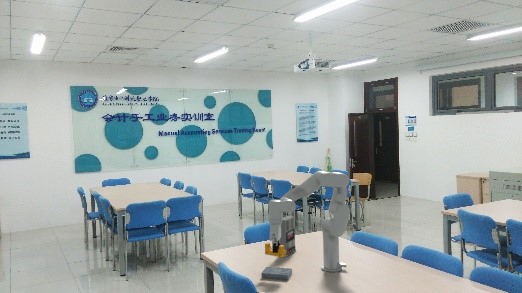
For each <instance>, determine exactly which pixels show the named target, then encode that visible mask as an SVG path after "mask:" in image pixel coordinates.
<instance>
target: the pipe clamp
mask: <svg viewBox="0 0 522 293" xmlns="http://www.w3.org/2000/svg"><path fill="white" fill-rule="evenodd" d="M264 255H267V256H272V257H277V258H284V257H286V250H284V245H280V246H279V249H278V253H273V252H272V245H271V242H265V243H264Z"/></svg>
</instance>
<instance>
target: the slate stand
mask: <svg viewBox="0 0 522 293" xmlns="http://www.w3.org/2000/svg"><path fill="white" fill-rule="evenodd" d="M292 275H293V268H288V267H287V268H285V267H274V266H265V268H264V269H263V270H262V272H261V279H265V280H266V279H268V280H281V281H289V280H290V278H291V276H292Z"/></svg>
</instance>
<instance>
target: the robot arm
mask: <svg viewBox="0 0 522 293" xmlns="http://www.w3.org/2000/svg"><path fill="white" fill-rule="evenodd" d="M349 184H350V178H349V176H348V175H347V174H345V173H343V172H338V171H332V172H328V171H324V170H323V171H322V170H317V171H315V172H314V173H313V174H311V175H310V176H309V177H308V178H306V180H304V181H303V182H302V183H300V185H297V186H296V187H293V188H292V189H290V190H289V191H287V192H286V193H285V194H283V195H282V196H281V197H280V198H279V199H271V200H269V202H268V221H269V241H270V242H271V248H272V252H273V253H278V249H279V246H280V238H281V224H282V218H283V214H282V213H292V212H293V211H295V210H296V207H297V205H296V201H297V200H299V199H302V198H306V197H309V196H311V195H313V193H315V192H316V191H317V190H318V189H319V188H320V187H324V188H325V187H327V188H332V196H331V199H330V202H329V206H328V213H329V214H330V215H331V216H333V217H331V216H330V217H326V218H324V219H323V221H322V222H321V231H322V242H323V243H322V245H323V252H322V254H323V264H322V265H321V266H320V268H321V270H322V271H324V272H328V273H333V272H334V273H335V272H336V273H337V272H340V271H342V268H347V267H348V266H347V263H345V262H341V260H340V240H339V238H340V237H342V236H343V235H344V234H345V231H346V229H347V226H348V223H349V218H350V215H351V209H350V207H349V205H347V204H346V200H347V196H348V188H347V186H348V185H349Z"/></svg>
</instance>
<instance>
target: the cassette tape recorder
mask: <svg viewBox="0 0 522 293" xmlns="http://www.w3.org/2000/svg"><path fill="white" fill-rule="evenodd" d="M295 223H296V222H295V216H294V215H287V216H284V217H282V224H281V238H280V245H284V250H286V256H285V257H288V256H290V255H292V254H293V253H295V252H296V251H297V249H296V235H295V234H296V230H295V229H296V228H295Z"/></svg>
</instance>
